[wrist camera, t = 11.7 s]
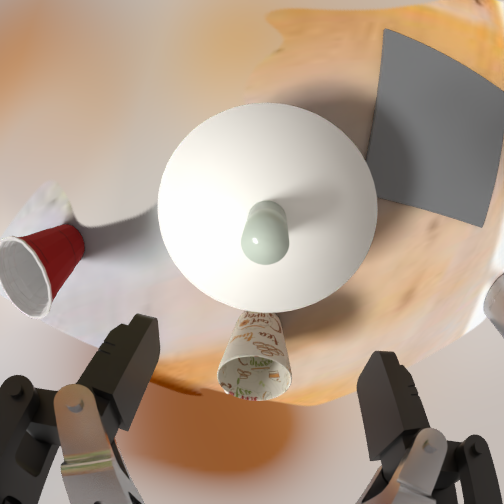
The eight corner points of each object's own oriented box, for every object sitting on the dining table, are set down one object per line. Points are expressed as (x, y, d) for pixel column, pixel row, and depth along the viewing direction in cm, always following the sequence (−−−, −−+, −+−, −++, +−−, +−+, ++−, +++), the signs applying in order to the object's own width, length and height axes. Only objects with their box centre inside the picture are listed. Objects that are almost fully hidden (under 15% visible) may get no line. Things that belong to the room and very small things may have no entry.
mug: (301, 316, 37) (307, 372, 28) (255, 369, 42) (250, 421, 33) (246, 290, 36) (237, 344, 27) (207, 348, 41) (193, 400, 32)
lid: (393, 131, 20) (427, 135, 15) (342, 316, 28) (353, 357, 23) (169, 95, 20) (138, 88, 15) (162, 290, 28) (140, 326, 23)
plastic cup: (105, 224, 33) (49, 266, 22) (94, 285, 38) (50, 334, 27) (50, 194, 32) (-9, 223, 21) (44, 254, 36) (-3, 292, 25)
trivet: (504, 94, 21) (507, 94, 20) (479, 226, 29) (482, 227, 29) (383, 29, 21) (385, 28, 20) (358, 192, 29) (360, 193, 29)
